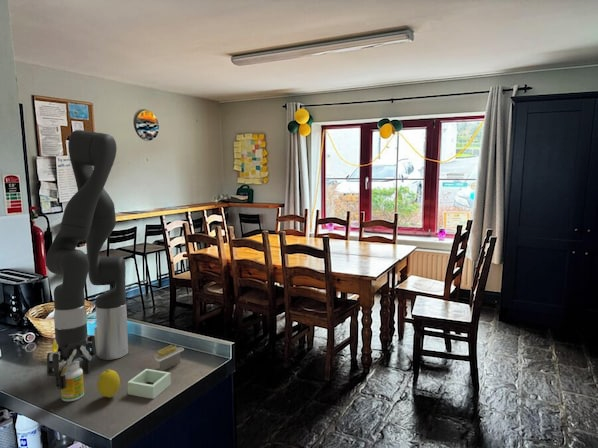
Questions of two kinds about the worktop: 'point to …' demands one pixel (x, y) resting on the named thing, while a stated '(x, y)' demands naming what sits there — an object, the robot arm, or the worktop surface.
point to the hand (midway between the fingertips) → (74, 380)
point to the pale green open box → (147, 390)
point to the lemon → (108, 383)
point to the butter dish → (168, 357)
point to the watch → (54, 347)
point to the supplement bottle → (73, 382)
